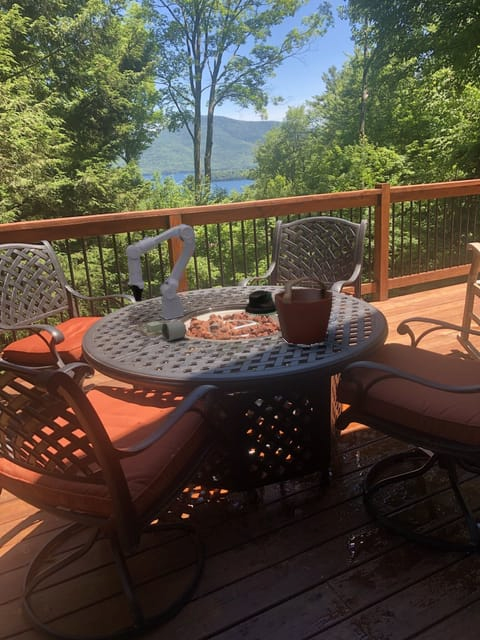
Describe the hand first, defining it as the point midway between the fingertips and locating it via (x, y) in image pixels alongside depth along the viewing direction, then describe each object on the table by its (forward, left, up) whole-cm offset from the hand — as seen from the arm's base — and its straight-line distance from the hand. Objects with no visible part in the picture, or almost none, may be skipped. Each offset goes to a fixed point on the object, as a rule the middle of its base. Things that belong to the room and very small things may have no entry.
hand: (138, 301), depth 223 cm
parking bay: (+1, +19, -9) cm, 21 cm away
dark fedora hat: (-54, +20, -10) cm, 59 cm away
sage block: (+1, +21, -10) cm, 23 cm away
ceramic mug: (-2, +33, -10) cm, 34 cm away
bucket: (-43, +67, -10) cm, 80 cm away
